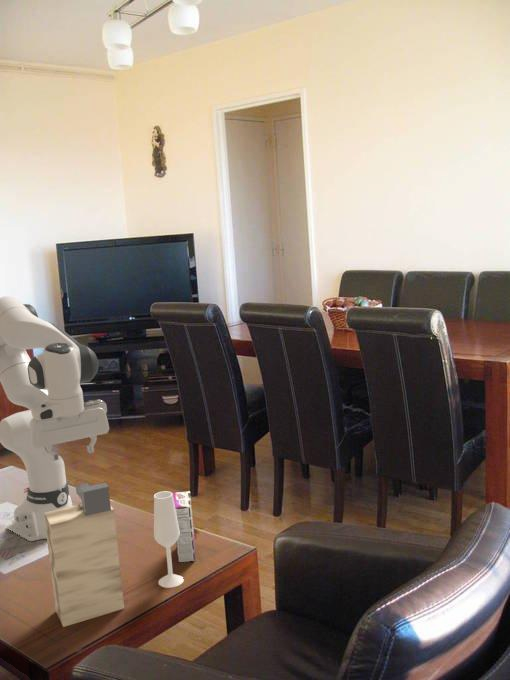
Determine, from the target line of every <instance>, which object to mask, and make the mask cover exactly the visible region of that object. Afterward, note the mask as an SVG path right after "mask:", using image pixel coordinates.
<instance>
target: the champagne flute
mask: <svg viewBox="0 0 510 680" xmlns="http://www.w3.org/2000/svg"><path fill="white" fill-rule="evenodd" d="M179 536H180V531H179V525H178V520H177V515H176V509H175V504H174V492H172V491H169V490H167V491H165V490H164V491H163V490H162V491H159V492H157V493H154V495H153V539H154V540H155V541H156V542H157V544H159V545H160V546H161V547H163V548H165V553H166V564H167V574H166V575H164V576H162V577H161V578H160V579H158V585H159V586H160V587H162V588H166V589H167V588H169V589H170V588H176V587H178V586H181V585H182V584H183V583H184V581H185V579H183V578H184V577H183V576H182V575H180V574H179V575H178V574H175V573H174V571H173V562H172V551H171V550H172V549H171V548H172V546H174V545H175V544H176V541H177V540H178V538H179Z"/></svg>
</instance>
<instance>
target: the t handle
mask: <svg viewBox="0 0 510 680" xmlns="http://www.w3.org/2000/svg"><path fill="white" fill-rule="evenodd" d="M75 491H76V494H77V496H78V497H79V498H80V500H81V502H82V507H83V513H84V514H85V515H86V516H89V515H93V514H97V513H102V512H106V511H110V510H111V506H112V505H111V500H110V488H109V485H108V484H107V483H106V482H102V483H97V484H92V485H89V483H88V482H84V483H81V484H76V485H75ZM110 505H111V506H110Z"/></svg>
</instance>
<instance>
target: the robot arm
mask: <svg viewBox="0 0 510 680" xmlns="http://www.w3.org/2000/svg"><path fill="white" fill-rule="evenodd" d="M34 349H35V350H36V349H37V350H39V349H43V351H42V353H39V354H37V355H35V356H33V357H32V358H31V357H30V355H29V354H28V352H27V350H34ZM99 366H100V365H99V360H98V357H97V355H96V353H95V351H93V350H92V349H91V348H90V347H88V346H87V345H84V344H82V343H80V342H78V341H77V340H76V339H75V338H73V337H72V336H71V335H70V334H68V333H67V332H66V331H65V330H63V328H61V327H59V326H58V325H57V324H55V323H52V322H49V321H47V320H44V319H42V318H40V316H39V313H38V312H37V310H36V308H35V307H34V306H33V305H31V304H30V303H27V304H26V303H24V304H23V303H22V302H20V301H19V300H18V299H16V298H14V297H12V296H1V297H0V384H1V386H2V389H3V391H4V394H5V395H6V398H7V399H8V400H9V402H11V403H12V404H14V405H16V406H20V407H24V408H26V409H28V410H23V411H19V412H16V413H13V414H11V415H9V416H7V417H5V418H2V419H1V420H0V444H1V446H3V447H4V448H5V449H7V450H8V451H11V452H13V453H14V454H16V455H17V456H18V457H19V458H20V459H21V460H22V463H23V464H24V467H25V471H26V475H27V476H26V477H27V481H28V487H26V488H24V489H23V491H24V492H23V493H24V494H25V493H27V494H26V499H24V500H23V501H22V502H21V503H20V504H18V505H17V506H16V508H15V509H14V513H13V520H12V521H10V522H9V523H8V524H7V526H6V529H7V530H8V529H9V530H8V531H10V530H11V531H10V532H12V531H13V532H14V533H13V532H12V533H13V534H15V533H16V534H15V535H17V534H18V535H17V536H19V535H20V536H19V537H21V538H22V537H23V539H24V538H25V539H24V540H26V539H27V541H28V542H34V541H38V540H47V534H46V526H45V518H44V513H45V512H50V511H54V510H58V509H62V508H67V507H71V506H73V502H72V498H71V496H70V486H69V484H68V483H69V482H67V476H66V469H65V468H66V466H65V461H64V459H63V458H62V456H60V455H59V454H58V452H56V451H55V452H54V451H52V450H53V446H54V445H59V444H64V443H67V442H72V441H78V440H81V439H82V440H83V439H87V438H89V439H90V442H89V445H86V450H87V451H86V452H87V453H88V454H92V453H95V447H94V446H95V445H96V442H97V441H98V437H97V436H101V435H105V434H108V433H109V431H110V424H109V421H108V417H107V413H108V407H107V403H106V402H105V401H104V400H101V399H95V400H90V401H84V395H83V394H84V393H83V389H82V387H81V384H84V383H90V382H91V381H92V380H93V379H94V378H95V377H96V375H97V373H98V371H99ZM46 450H47V451H46Z"/></svg>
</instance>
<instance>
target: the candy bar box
mask: <svg viewBox="0 0 510 680" xmlns="http://www.w3.org/2000/svg"><path fill="white" fill-rule="evenodd" d="M173 499H174V504H175V509H176V515H177V520H178V525H179V531H180V536H179V538H178V540H177V541H176V542H175V544H176V553H177V561H178V562H184V563H191V562H190V561H193V562H196V540H195V539H196V538H195V530H194V520H193V509H192V498H191V491H190V490H188V491H177V492H175V491H174V492H173Z"/></svg>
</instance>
